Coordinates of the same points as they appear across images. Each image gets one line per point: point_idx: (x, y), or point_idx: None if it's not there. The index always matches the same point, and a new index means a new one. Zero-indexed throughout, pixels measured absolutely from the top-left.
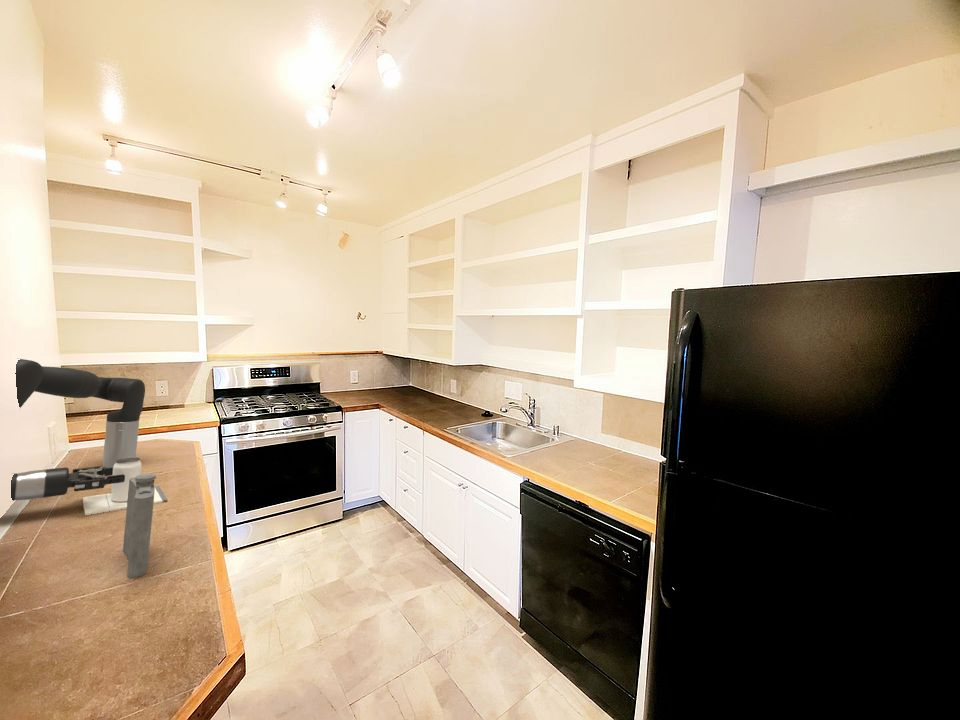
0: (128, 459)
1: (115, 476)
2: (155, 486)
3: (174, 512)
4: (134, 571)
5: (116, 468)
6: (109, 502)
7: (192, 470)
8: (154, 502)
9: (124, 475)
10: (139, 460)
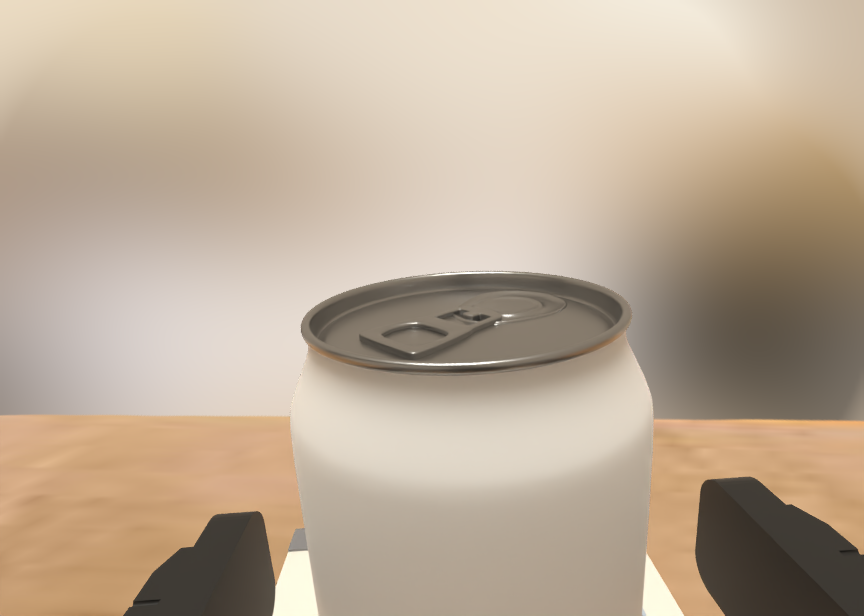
0: (369, 321)
1: (840, 563)
2: (292, 545)
3: (838, 504)
4: None
5: (617, 465)
6: None
7: (130, 426)
8: (652, 569)
9: (743, 479)
10: (491, 284)
